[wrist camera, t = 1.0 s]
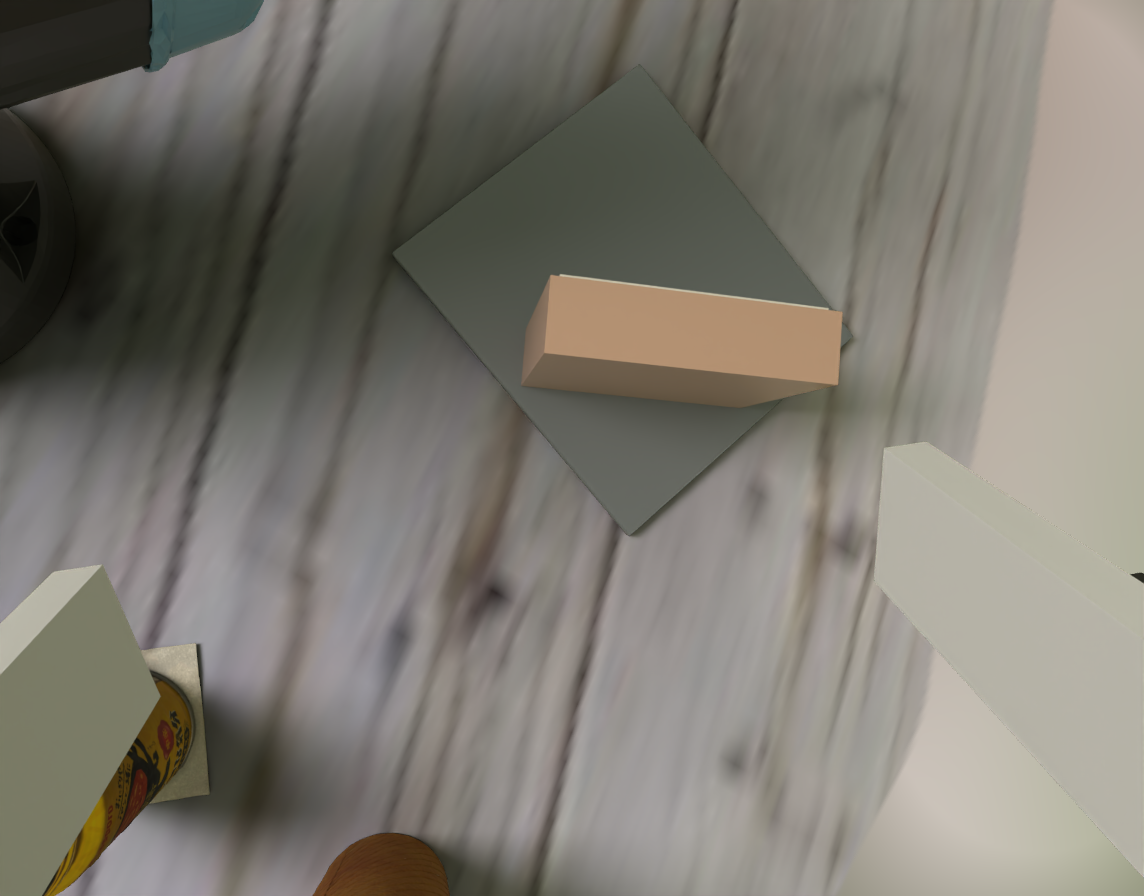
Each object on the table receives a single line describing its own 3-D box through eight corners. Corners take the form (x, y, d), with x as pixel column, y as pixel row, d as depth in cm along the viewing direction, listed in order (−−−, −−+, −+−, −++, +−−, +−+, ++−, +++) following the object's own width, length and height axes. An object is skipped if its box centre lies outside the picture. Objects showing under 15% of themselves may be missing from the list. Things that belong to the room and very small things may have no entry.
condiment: (211, 792, 34) (79, 962, 22) (16, 824, 33) (-235, 1024, 21) (197, 641, 34) (59, 730, 22) (3, 667, 33) (-254, 776, 21)
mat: (393, 256, 36) (392, 252, 36) (637, 70, 39) (639, 64, 38) (626, 535, 38) (629, 536, 37) (847, 338, 40) (853, 336, 40)
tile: (740, 407, 38) (838, 385, 28) (521, 385, 36) (544, 352, 27) (744, 350, 38) (842, 307, 29) (526, 324, 37) (551, 269, 27)
